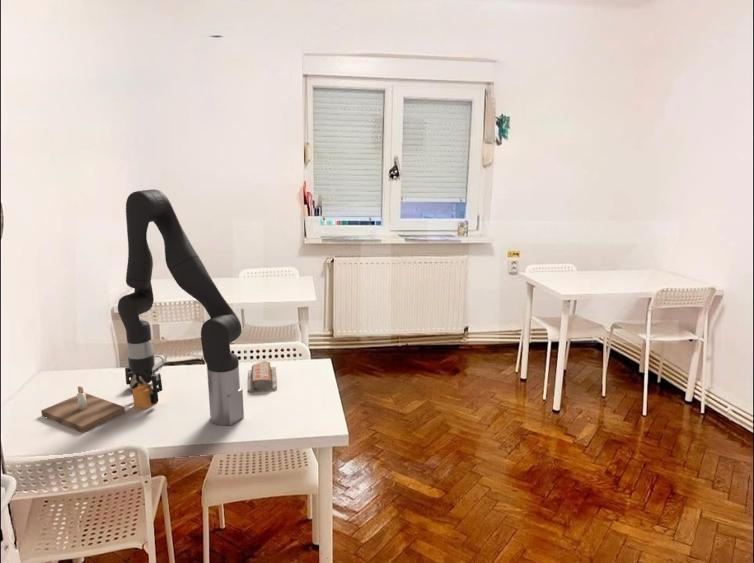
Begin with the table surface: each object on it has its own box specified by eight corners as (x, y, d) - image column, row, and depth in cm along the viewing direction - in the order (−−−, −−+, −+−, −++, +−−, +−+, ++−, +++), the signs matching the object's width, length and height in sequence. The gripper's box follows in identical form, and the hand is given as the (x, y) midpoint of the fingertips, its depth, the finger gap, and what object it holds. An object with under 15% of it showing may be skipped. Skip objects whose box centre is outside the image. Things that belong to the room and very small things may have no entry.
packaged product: (277, 378, 182) (247, 381, 179) (277, 391, 183) (248, 394, 181) (275, 358, 199) (248, 360, 196) (275, 370, 200) (248, 372, 198)
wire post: (88, 407, 164) (85, 385, 162) (81, 410, 162) (78, 388, 161) (84, 406, 165) (81, 384, 163) (77, 409, 163) (74, 387, 162)
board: (124, 412, 166) (124, 406, 165) (82, 432, 154) (82, 426, 153) (84, 398, 175) (84, 392, 174) (42, 416, 163) (41, 410, 162)
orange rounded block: (157, 402, 172) (155, 383, 171) (144, 409, 168) (142, 389, 166) (147, 399, 175) (145, 379, 173) (134, 405, 170) (131, 385, 169)
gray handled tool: (168, 353, 204) (140, 371, 179) (168, 370, 204) (141, 390, 179) (154, 353, 203) (124, 371, 179) (155, 370, 204) (125, 390, 179)
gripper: (166, 353, 167) (170, 400, 171) (135, 345, 173) (140, 390, 177) (146, 362, 161) (150, 410, 165) (115, 353, 167) (120, 399, 171)
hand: (145, 400), depth 171 cm, fingers open, 8 cm apart
